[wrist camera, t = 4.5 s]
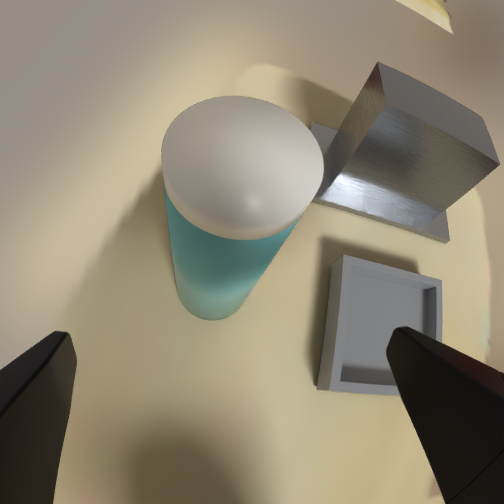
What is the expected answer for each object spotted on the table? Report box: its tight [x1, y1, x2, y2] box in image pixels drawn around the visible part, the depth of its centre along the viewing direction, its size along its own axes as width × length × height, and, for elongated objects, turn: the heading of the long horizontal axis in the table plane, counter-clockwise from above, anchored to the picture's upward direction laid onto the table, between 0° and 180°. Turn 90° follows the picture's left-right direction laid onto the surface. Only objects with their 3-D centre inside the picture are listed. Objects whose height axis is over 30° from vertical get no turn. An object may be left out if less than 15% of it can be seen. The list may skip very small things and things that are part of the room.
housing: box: [309, 62, 500, 244], centre depth 22 cm, size 8×14×10 cm, turn 80°
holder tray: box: [317, 254, 442, 396], centre depth 20 cm, size 9×9×2 cm
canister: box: [162, 96, 324, 320], centre depth 14 cm, size 4×4×13 cm
